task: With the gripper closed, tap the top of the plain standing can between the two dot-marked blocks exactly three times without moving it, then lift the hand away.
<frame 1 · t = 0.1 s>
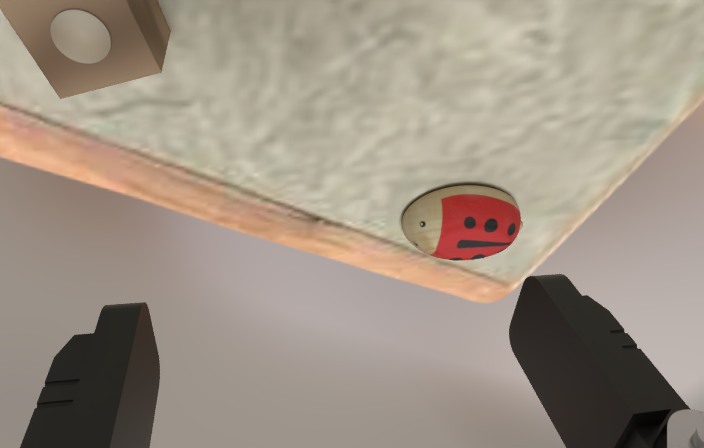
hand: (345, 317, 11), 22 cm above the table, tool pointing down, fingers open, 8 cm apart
ladybug figurine: (457, 211, 42), on the table
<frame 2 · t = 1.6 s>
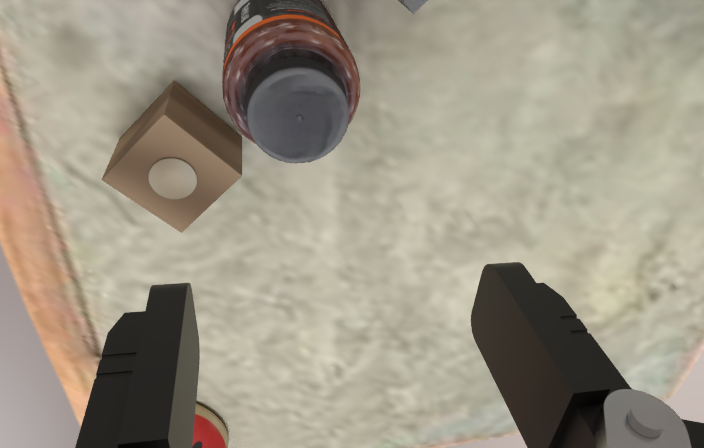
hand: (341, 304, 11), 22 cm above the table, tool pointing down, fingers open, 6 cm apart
supplement bottle: (280, 36, 29), on the table
ladybug figurine: (185, 423, 47), on the table
walnut dotted block: (182, 137, 31), on the table
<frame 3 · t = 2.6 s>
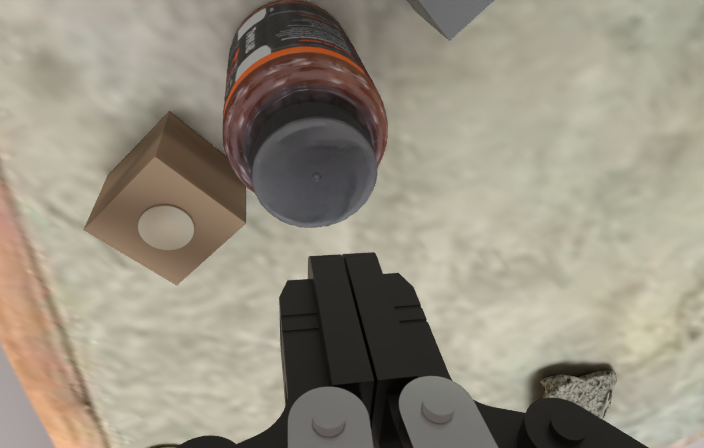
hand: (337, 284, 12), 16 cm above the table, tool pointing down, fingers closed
supplement bottle: (290, 61, 25), on the table
rock sample: (562, 385, 45), on the table
walnut dotted block: (178, 173, 28), on the table
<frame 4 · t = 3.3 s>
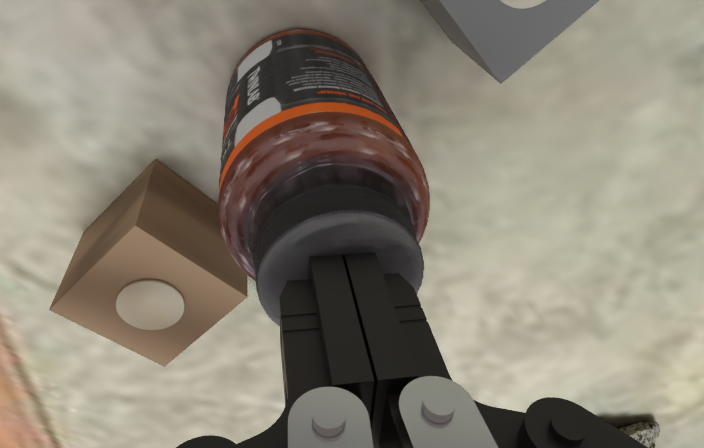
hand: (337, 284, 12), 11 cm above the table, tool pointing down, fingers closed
supplement bottle: (300, 99, 21), on the table, touching gripper
rock sample: (599, 437, 41), on the table
walnut dotted block: (167, 227, 24), on the table
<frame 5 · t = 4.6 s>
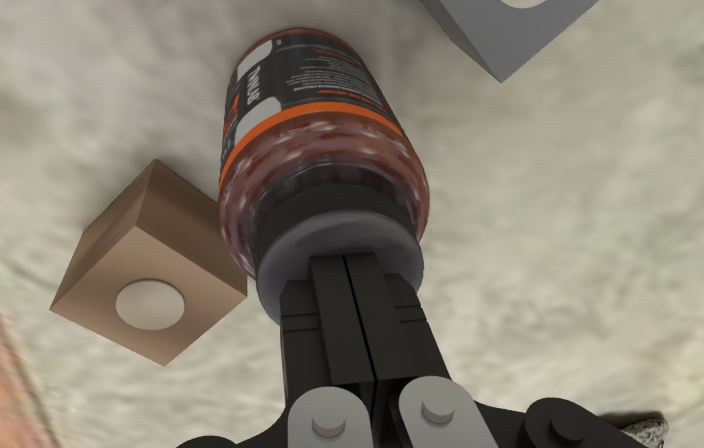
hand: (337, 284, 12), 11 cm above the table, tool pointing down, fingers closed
supplement bottle: (300, 98, 21), on the table, touching gripper
rock sample: (607, 434, 41), on the table
walnut dotted block: (167, 227, 24), on the table
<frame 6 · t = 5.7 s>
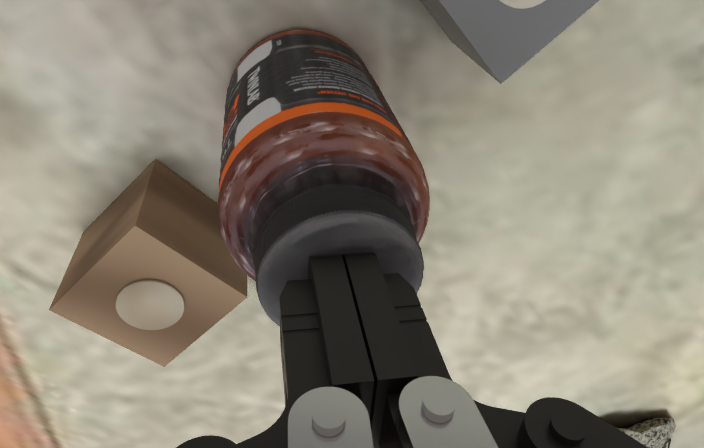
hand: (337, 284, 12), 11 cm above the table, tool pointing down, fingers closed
supplement bottle: (300, 99, 21), on the table, touching gripper
rock sample: (614, 433, 41), on the table
walnut dotted block: (167, 227, 24), on the table
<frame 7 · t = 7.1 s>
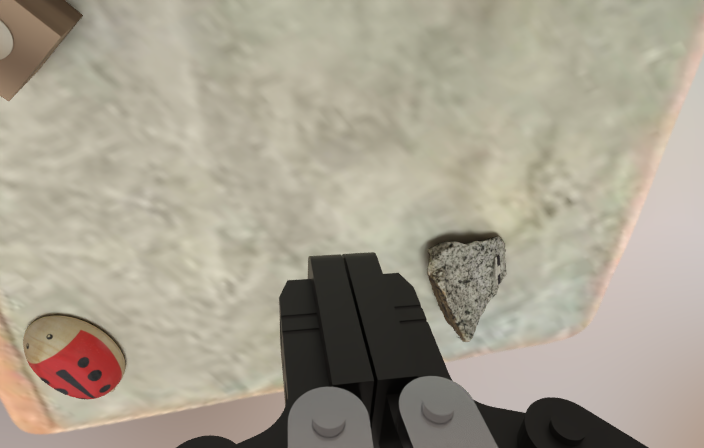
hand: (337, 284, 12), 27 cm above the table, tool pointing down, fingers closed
ladybug figurine: (79, 345, 47), on the table
rock sample: (458, 259, 49), on the table
walnut dotted block: (19, 14, 31), on the table
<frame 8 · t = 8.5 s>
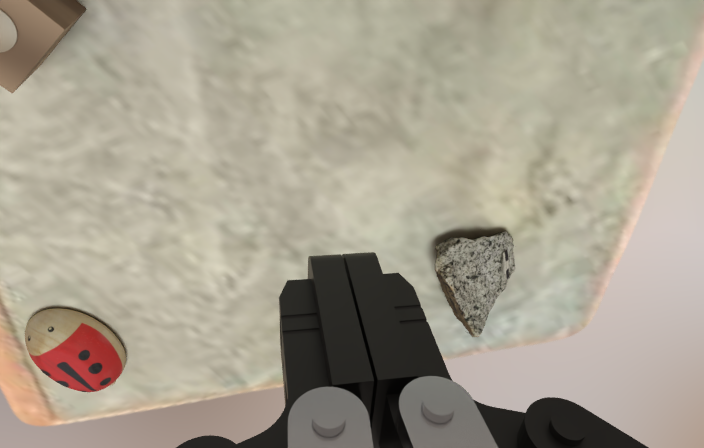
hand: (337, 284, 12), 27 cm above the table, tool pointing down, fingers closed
ladybug figurine: (80, 338, 47), on the table
rock sample: (466, 254, 49), on the table
walnut dotted block: (24, 7, 31), on the table
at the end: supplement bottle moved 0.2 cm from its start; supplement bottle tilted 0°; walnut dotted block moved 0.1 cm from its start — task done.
